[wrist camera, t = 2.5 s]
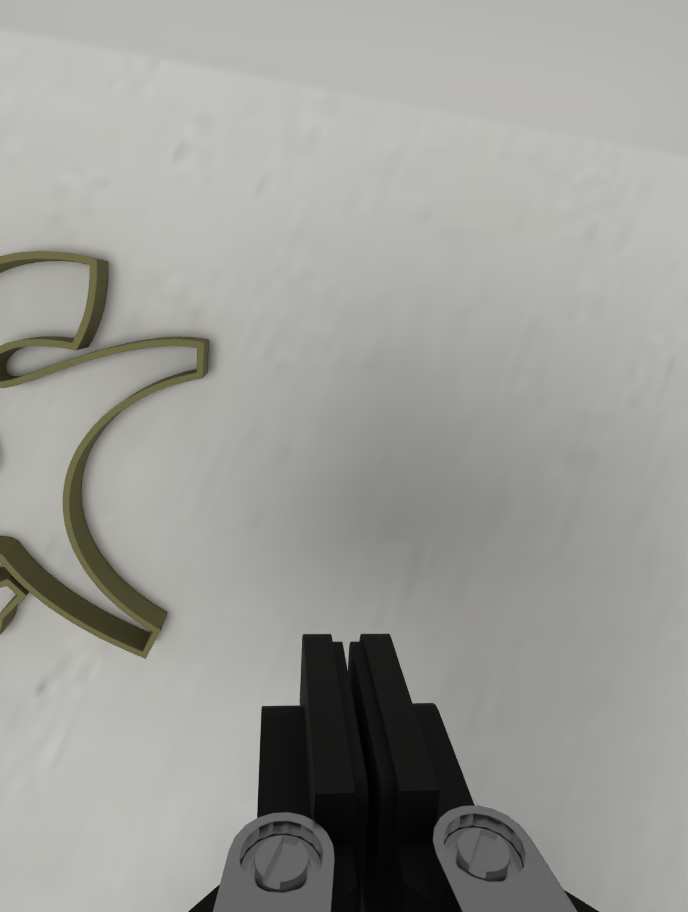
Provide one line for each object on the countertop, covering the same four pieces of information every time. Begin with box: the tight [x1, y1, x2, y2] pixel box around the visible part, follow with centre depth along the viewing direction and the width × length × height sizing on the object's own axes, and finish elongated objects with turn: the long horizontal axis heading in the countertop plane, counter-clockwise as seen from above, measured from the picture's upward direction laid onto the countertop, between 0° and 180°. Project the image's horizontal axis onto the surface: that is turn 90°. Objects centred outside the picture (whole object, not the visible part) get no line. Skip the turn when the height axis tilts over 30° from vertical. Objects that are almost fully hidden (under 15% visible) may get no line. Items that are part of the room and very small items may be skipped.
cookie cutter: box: [0, 251, 209, 659], centre depth 26 cm, size 18×12×2 cm, turn 167°
